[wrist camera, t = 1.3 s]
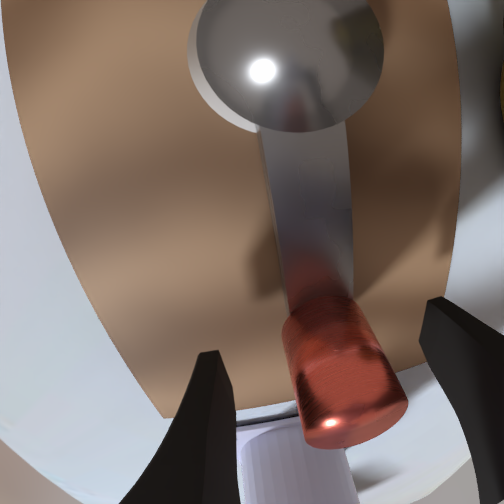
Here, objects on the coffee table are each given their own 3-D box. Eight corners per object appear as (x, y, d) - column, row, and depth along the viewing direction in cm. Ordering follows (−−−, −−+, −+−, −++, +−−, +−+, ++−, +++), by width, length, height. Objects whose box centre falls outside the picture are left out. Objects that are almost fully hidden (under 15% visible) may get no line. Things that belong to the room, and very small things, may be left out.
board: (547, 290, 17) (577, 321, 13) (165, 401, 17) (160, 461, 13) (561, -23, 5) (606, -21, 2) (16, -38, 5) (-43, -59, 2)
